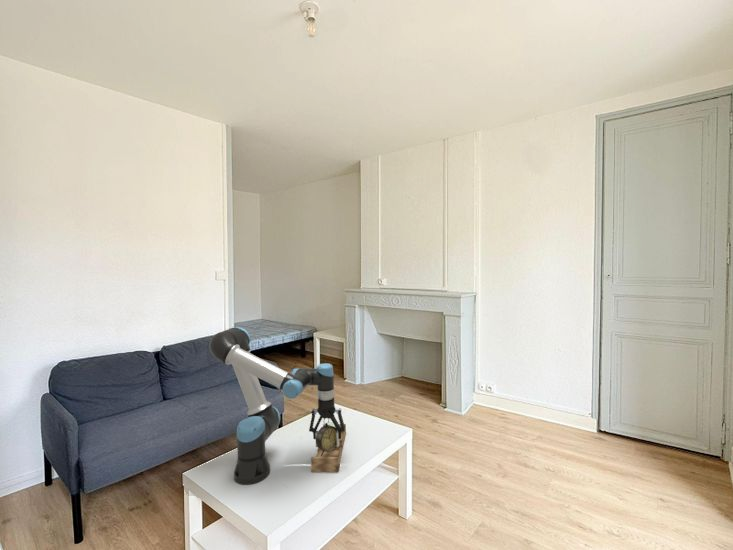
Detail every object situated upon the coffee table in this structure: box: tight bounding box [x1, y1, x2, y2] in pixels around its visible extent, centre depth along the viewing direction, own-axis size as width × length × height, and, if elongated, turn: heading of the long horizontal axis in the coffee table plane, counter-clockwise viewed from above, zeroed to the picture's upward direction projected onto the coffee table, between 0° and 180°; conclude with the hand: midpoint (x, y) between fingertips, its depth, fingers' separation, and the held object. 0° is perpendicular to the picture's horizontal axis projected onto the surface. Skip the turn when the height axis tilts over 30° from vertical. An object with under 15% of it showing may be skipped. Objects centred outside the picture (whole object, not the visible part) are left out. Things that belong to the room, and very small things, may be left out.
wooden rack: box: [310, 423, 347, 473], centre depth 171 cm, size 12×33×6 cm, turn 178°
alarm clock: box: [315, 418, 337, 456], centre depth 163 cm, size 11×5×16 cm, turn 136°
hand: (327, 445), depth 163 cm, fingers closed on alarm clock, 9 cm apart
